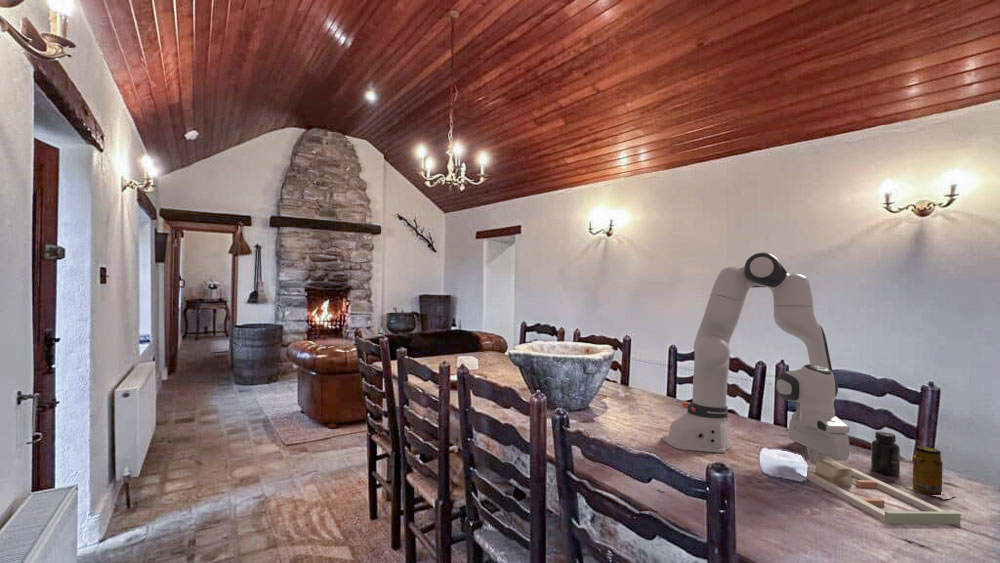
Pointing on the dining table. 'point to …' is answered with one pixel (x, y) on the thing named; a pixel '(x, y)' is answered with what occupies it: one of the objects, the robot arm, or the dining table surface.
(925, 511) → the frame
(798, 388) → the robot arm
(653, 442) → the dining table surface
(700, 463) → the dining table surface
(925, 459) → the condiment
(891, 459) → the supplement bottle
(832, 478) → the oak block
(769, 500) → the dining table surface
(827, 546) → the dining table surface
